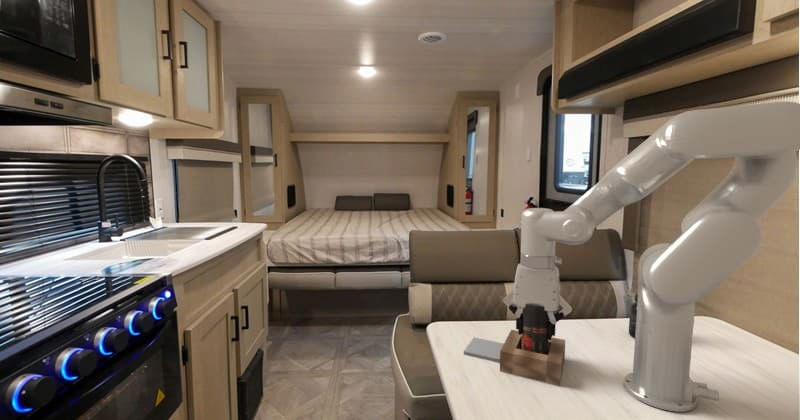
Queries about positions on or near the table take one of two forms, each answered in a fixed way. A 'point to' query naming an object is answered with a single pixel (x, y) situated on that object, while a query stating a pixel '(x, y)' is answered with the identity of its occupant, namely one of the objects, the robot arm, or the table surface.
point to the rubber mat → (484, 349)
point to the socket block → (533, 360)
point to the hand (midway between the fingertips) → (535, 334)
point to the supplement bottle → (633, 317)
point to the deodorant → (535, 329)
